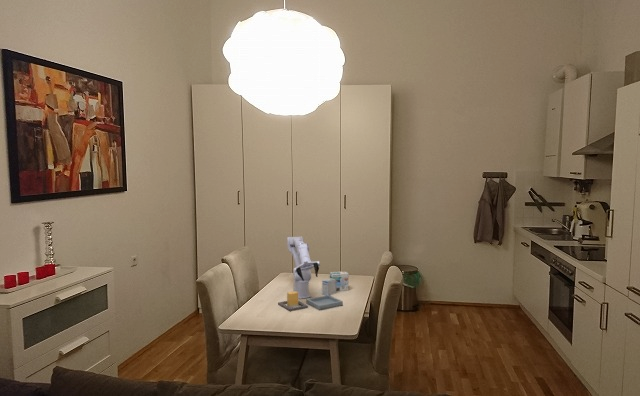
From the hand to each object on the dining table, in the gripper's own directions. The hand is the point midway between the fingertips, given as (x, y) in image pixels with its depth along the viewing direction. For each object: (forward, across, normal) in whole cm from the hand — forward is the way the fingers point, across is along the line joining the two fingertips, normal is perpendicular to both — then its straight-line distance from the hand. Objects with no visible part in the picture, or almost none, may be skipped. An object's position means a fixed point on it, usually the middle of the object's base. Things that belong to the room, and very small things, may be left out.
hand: (309, 277), depth 242 cm
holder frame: (+5, -13, +12) cm, 19 cm away
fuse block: (+5, -13, +13) cm, 19 cm away
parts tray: (+7, +4, +17) cm, 19 cm away
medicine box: (-10, +8, +30) cm, 32 cm away
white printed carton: (-15, +14, +36) cm, 42 cm away
